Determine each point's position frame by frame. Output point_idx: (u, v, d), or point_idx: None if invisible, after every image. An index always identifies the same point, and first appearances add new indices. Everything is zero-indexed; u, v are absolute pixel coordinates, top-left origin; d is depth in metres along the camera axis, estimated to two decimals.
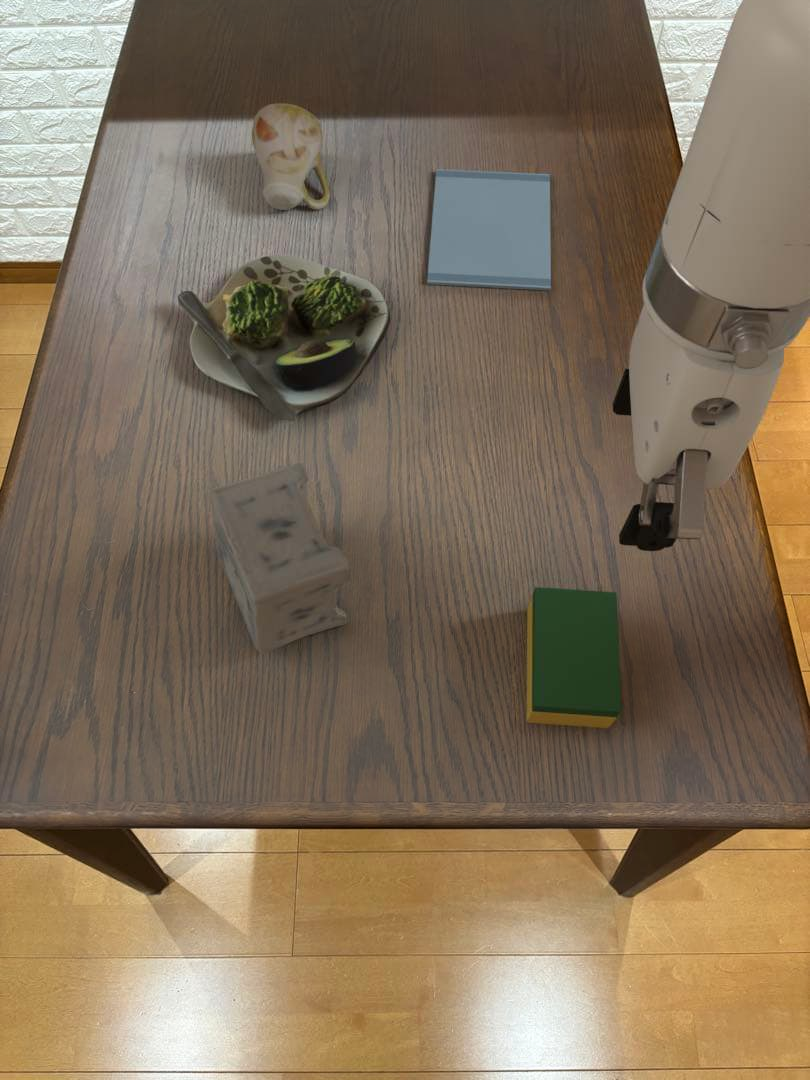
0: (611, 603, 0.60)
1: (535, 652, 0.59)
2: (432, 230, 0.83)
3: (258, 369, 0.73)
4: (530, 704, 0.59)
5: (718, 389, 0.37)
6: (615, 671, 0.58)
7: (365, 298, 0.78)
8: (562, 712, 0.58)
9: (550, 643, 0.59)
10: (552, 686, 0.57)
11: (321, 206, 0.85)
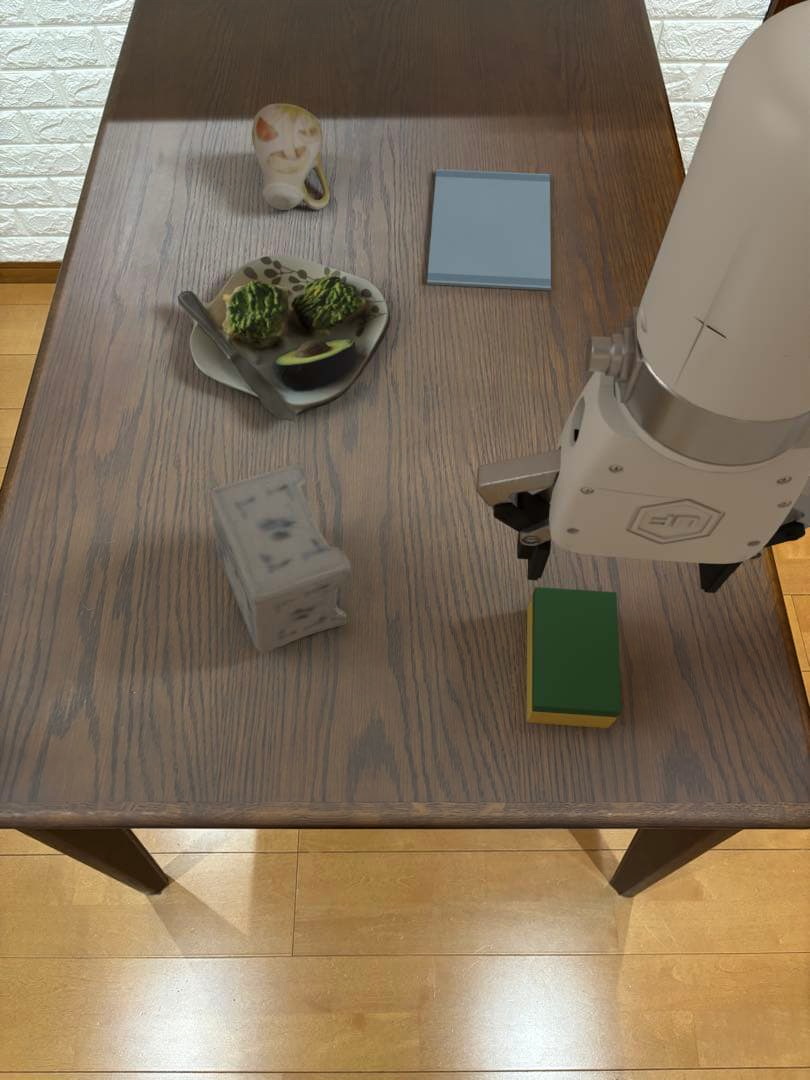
0: (611, 603, 0.60)
1: (535, 652, 0.59)
2: (432, 230, 0.83)
3: (258, 368, 0.73)
4: (530, 704, 0.59)
5: (589, 394, 0.34)
6: (615, 671, 0.58)
7: (365, 298, 0.78)
8: (562, 712, 0.58)
9: (550, 643, 0.59)
10: (552, 686, 0.57)
11: (321, 206, 0.85)
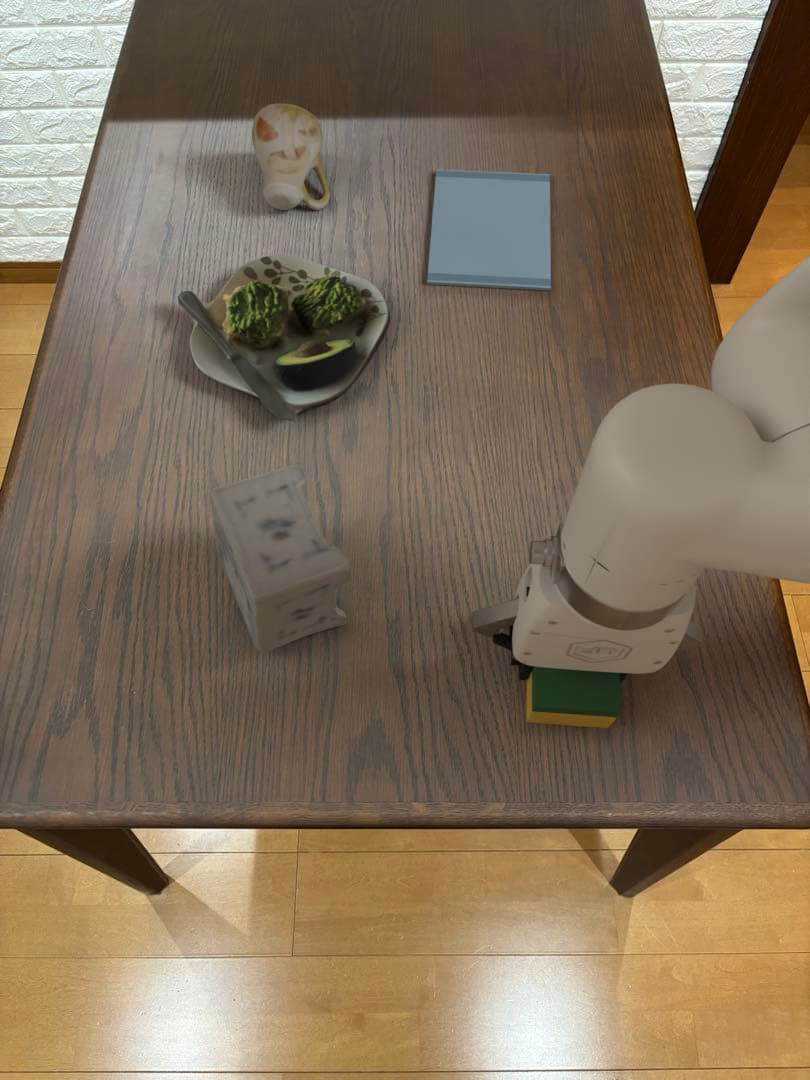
0: None
1: None
2: (432, 230, 0.83)
3: (258, 368, 0.73)
4: (530, 704, 0.59)
5: (534, 569, 0.49)
6: None
7: (365, 298, 0.78)
8: (562, 712, 0.58)
9: None
10: (552, 686, 0.57)
11: (321, 206, 0.85)
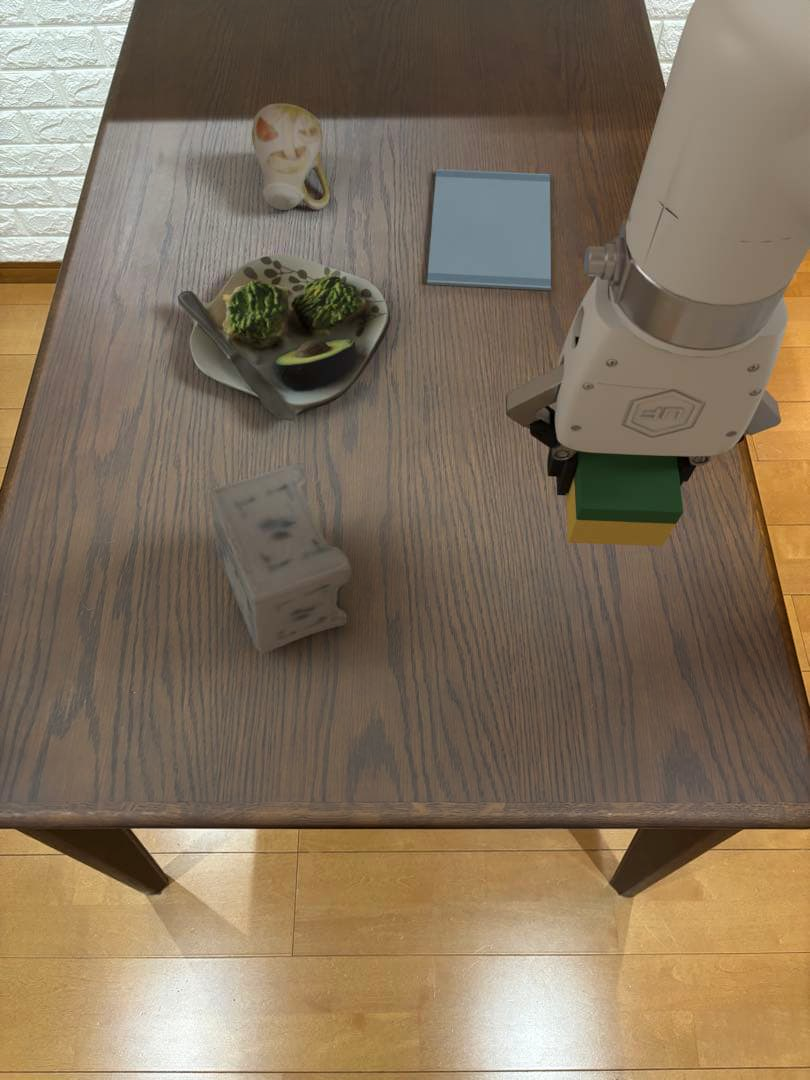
0: None
1: (578, 452, 0.50)
2: (432, 230, 0.83)
3: (258, 368, 0.73)
4: (573, 515, 0.50)
5: (587, 301, 0.40)
6: (673, 469, 0.49)
7: (365, 298, 0.78)
8: (612, 518, 0.49)
9: None
10: (600, 486, 0.49)
11: (321, 206, 0.85)
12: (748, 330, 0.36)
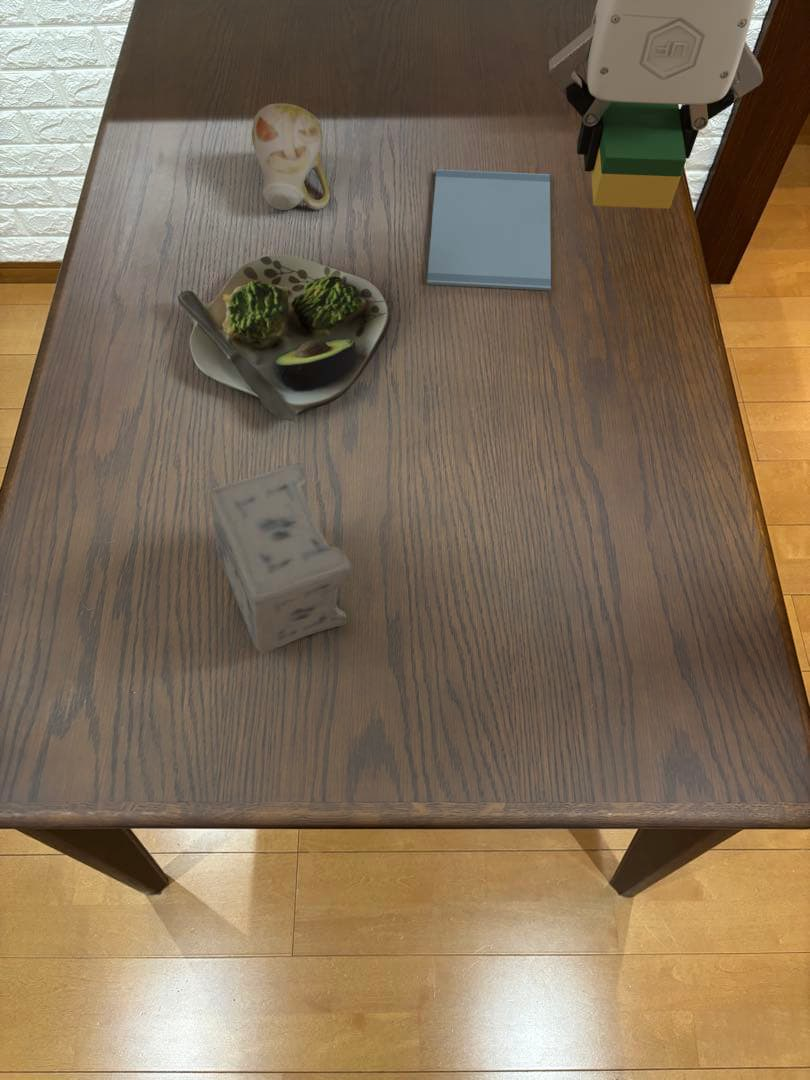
0: None
1: (603, 122, 0.63)
2: (432, 230, 0.83)
3: (258, 368, 0.73)
4: (598, 174, 0.63)
5: None
6: (678, 133, 0.62)
7: (365, 298, 0.78)
8: (630, 170, 0.62)
9: (617, 116, 0.63)
10: (620, 143, 0.62)
11: (321, 206, 0.85)
12: None
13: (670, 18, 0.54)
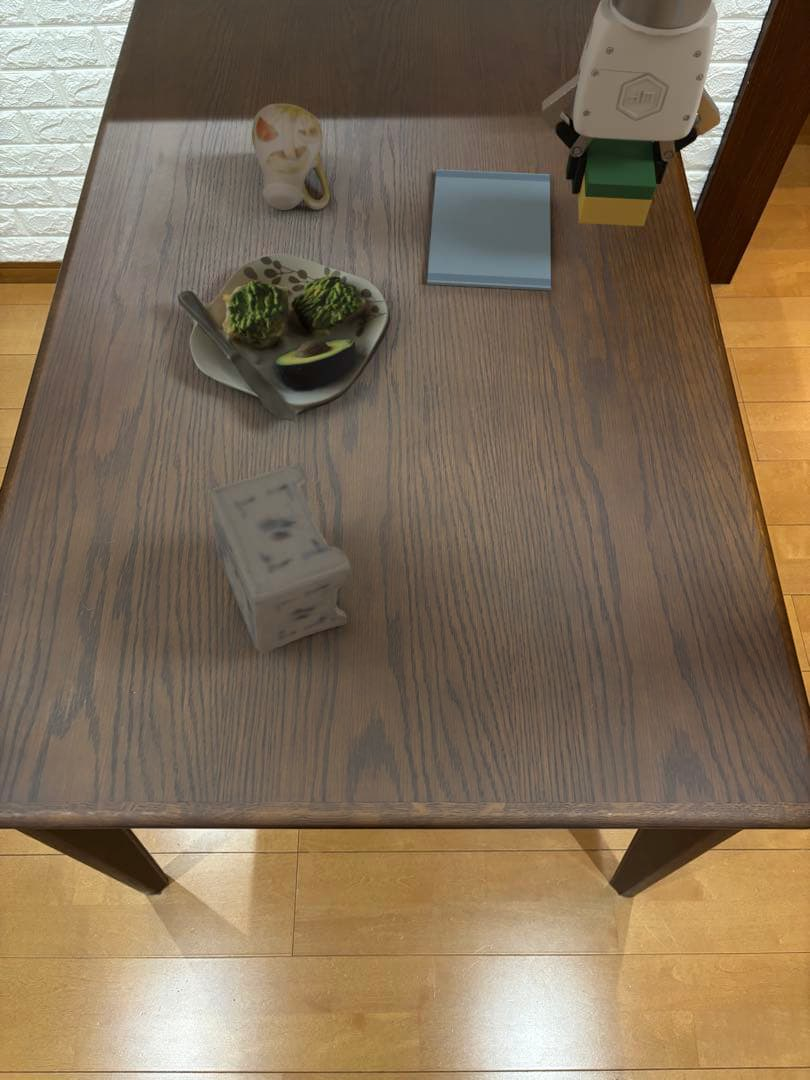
0: None
1: (587, 153, 0.75)
2: (432, 230, 0.83)
3: (258, 368, 0.73)
4: (583, 197, 0.75)
5: (595, 14, 0.65)
6: (650, 163, 0.74)
7: (365, 298, 0.78)
8: (609, 194, 0.74)
9: (599, 147, 0.75)
10: (601, 172, 0.73)
11: (321, 206, 0.85)
12: (691, 15, 0.61)
13: (640, 73, 0.65)
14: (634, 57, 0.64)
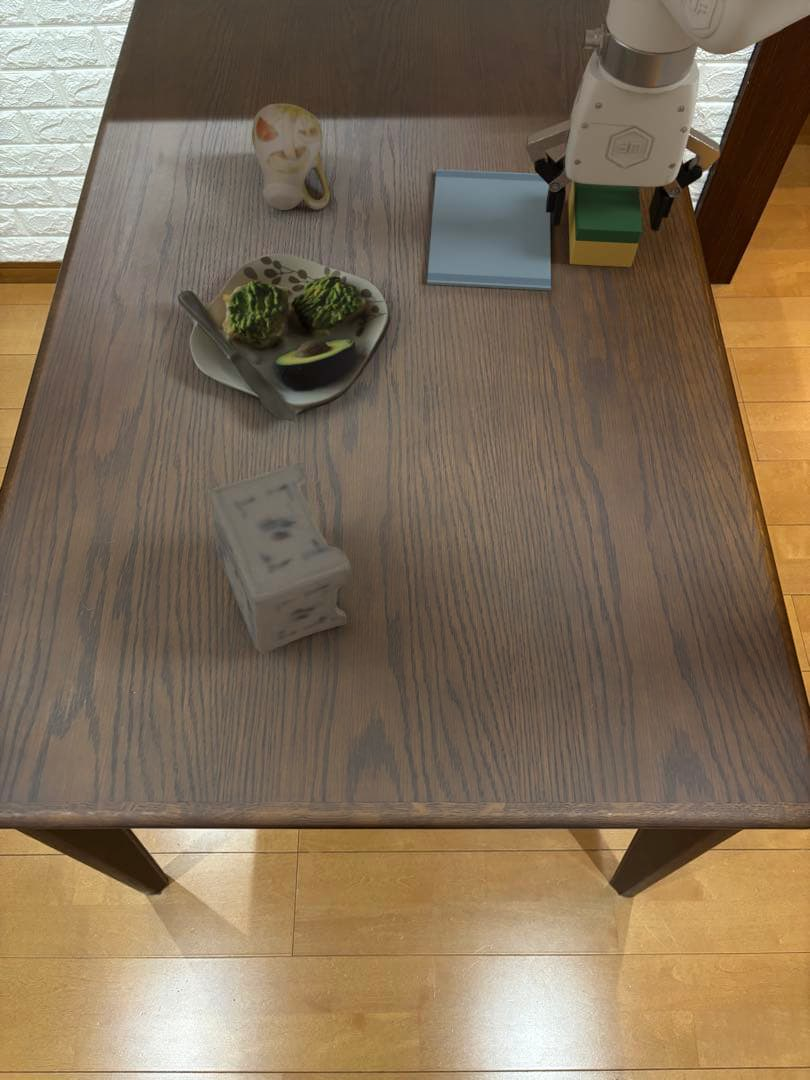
0: None
1: (577, 199, 0.79)
2: (432, 230, 0.83)
3: (258, 368, 0.73)
4: (573, 240, 0.80)
5: (585, 71, 0.69)
6: (637, 209, 0.78)
7: (365, 298, 0.78)
8: (598, 239, 0.78)
9: (588, 194, 0.79)
10: (590, 217, 0.78)
11: (321, 206, 0.85)
12: (673, 75, 0.65)
13: (627, 126, 0.69)
14: (621, 112, 0.68)
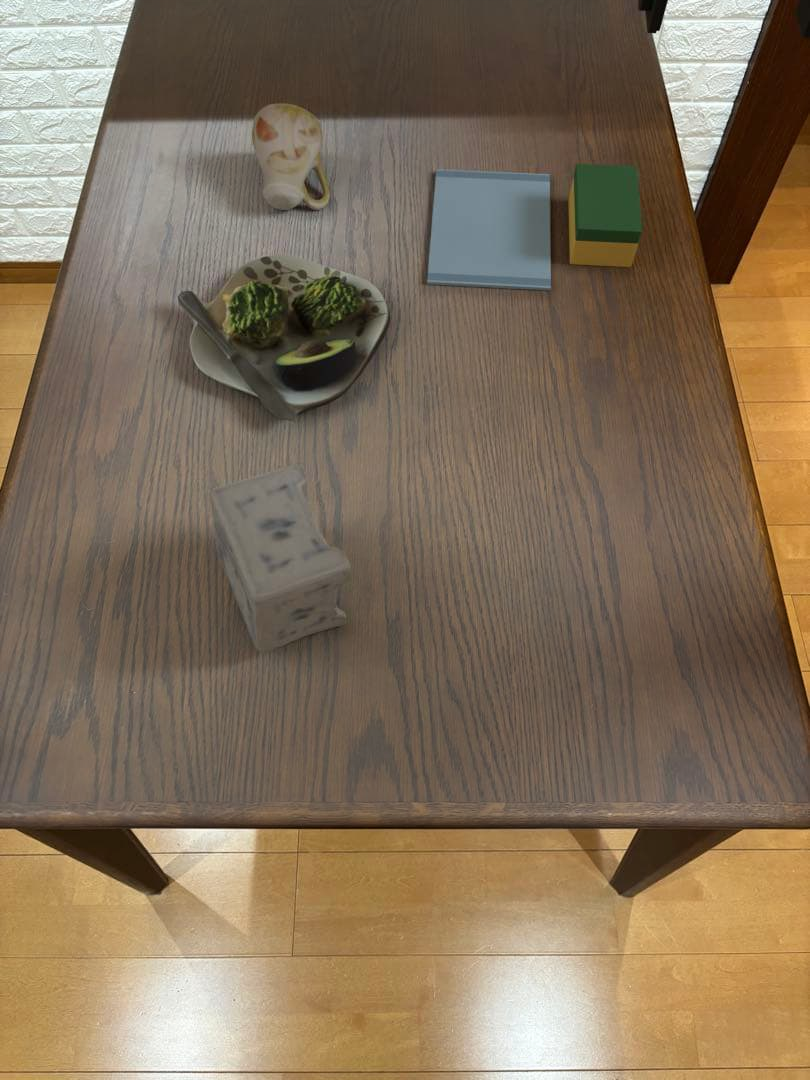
0: (633, 172, 0.81)
1: (577, 199, 0.79)
2: (432, 230, 0.83)
3: (258, 369, 0.73)
4: (573, 240, 0.80)
5: None
6: (637, 209, 0.78)
7: (365, 298, 0.78)
8: (598, 239, 0.78)
9: (588, 194, 0.79)
10: (590, 217, 0.78)
11: (321, 206, 0.85)
12: None
13: None
14: None
